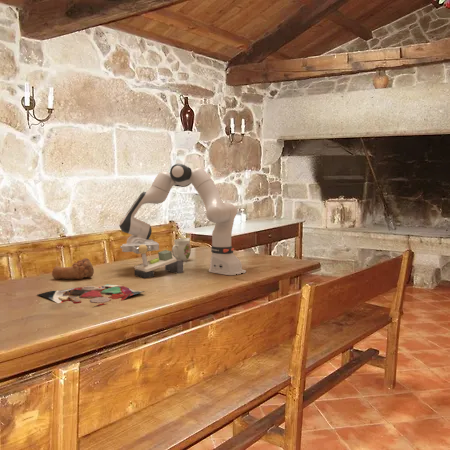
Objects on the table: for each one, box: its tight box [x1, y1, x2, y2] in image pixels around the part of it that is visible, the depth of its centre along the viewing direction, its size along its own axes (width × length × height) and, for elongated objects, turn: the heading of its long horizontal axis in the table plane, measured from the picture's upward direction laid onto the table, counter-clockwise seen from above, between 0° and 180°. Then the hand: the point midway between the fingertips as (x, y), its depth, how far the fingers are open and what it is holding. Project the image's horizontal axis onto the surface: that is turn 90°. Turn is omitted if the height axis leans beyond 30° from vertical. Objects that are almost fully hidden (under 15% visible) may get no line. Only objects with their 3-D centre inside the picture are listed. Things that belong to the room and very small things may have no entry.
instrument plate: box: [134, 245, 177, 272], centre depth 257 cm, size 20×12×14 cm, turn 132°
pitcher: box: [171, 237, 192, 262], centre depth 300 cm, size 11×18×14 cm, turn 148°
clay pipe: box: [51, 257, 95, 280], centre depth 247 cm, size 19×11×15 cm
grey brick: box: [134, 257, 184, 279], centre depth 260 cm, size 12×25×7 cm, turn 132°
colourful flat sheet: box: [37, 283, 146, 308], centre depth 213 cm, size 35×35×2 cm
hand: (143, 249), depth 251 cm, fingers closed on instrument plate, 5 cm apart
